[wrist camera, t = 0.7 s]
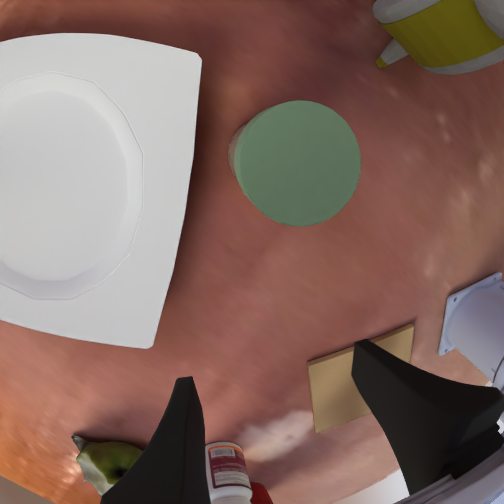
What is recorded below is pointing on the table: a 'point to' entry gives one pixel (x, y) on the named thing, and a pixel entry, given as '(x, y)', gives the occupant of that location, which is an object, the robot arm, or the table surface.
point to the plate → (93, 182)
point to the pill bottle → (227, 474)
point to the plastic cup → (259, 494)
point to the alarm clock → (443, 33)
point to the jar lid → (298, 162)
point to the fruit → (105, 461)
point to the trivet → (347, 381)
